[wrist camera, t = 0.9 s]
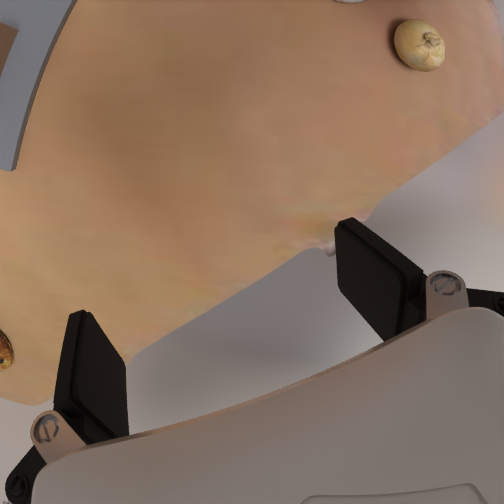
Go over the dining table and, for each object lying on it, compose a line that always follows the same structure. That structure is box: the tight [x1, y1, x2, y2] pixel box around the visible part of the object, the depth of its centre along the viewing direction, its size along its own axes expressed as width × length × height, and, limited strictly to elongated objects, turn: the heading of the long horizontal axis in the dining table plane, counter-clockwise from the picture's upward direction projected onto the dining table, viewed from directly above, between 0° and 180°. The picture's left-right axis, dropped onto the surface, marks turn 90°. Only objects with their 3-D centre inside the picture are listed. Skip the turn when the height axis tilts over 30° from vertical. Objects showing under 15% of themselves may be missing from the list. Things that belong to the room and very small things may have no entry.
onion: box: [394, 19, 445, 72], centre depth 31 cm, size 8×8×7 cm
